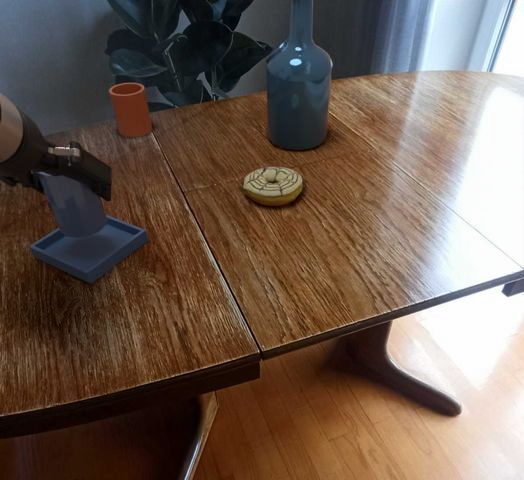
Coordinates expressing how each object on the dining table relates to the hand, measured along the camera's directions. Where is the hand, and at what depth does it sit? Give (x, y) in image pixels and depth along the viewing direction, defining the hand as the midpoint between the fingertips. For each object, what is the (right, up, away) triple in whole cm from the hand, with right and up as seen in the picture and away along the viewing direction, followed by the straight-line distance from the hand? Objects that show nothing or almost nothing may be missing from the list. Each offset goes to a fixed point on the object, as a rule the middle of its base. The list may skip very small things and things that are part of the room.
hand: (82, 192), depth 73 cm
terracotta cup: (0, +24, +32) cm, 40 cm away
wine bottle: (+36, +22, +30) cm, 52 cm away
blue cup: (0, -5, 0) cm, 5 cm away
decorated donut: (+30, +4, +15) cm, 34 cm away
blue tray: (0, -8, +4) cm, 9 cm away
